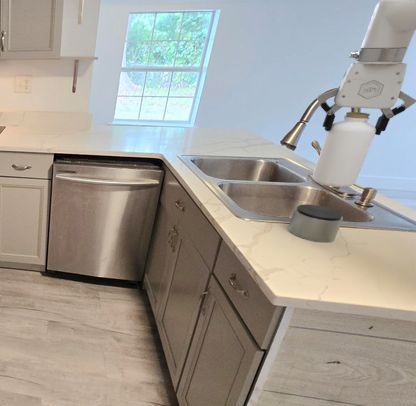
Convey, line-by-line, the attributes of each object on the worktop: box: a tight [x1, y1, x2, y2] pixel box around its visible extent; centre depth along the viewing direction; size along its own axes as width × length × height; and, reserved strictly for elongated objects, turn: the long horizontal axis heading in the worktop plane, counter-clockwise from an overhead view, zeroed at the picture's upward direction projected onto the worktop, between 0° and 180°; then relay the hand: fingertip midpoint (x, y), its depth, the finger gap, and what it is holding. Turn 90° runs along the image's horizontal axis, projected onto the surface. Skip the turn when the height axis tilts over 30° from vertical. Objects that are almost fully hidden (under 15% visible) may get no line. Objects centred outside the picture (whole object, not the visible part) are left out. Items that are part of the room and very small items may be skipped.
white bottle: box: [311, 111, 376, 188], centre depth 92 cm, size 8×8×18 cm
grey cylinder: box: [287, 204, 344, 243], centre depth 101 cm, size 10×10×7 cm
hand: (351, 131), depth 90 cm, fingers closed on white bottle, 8 cm apart
